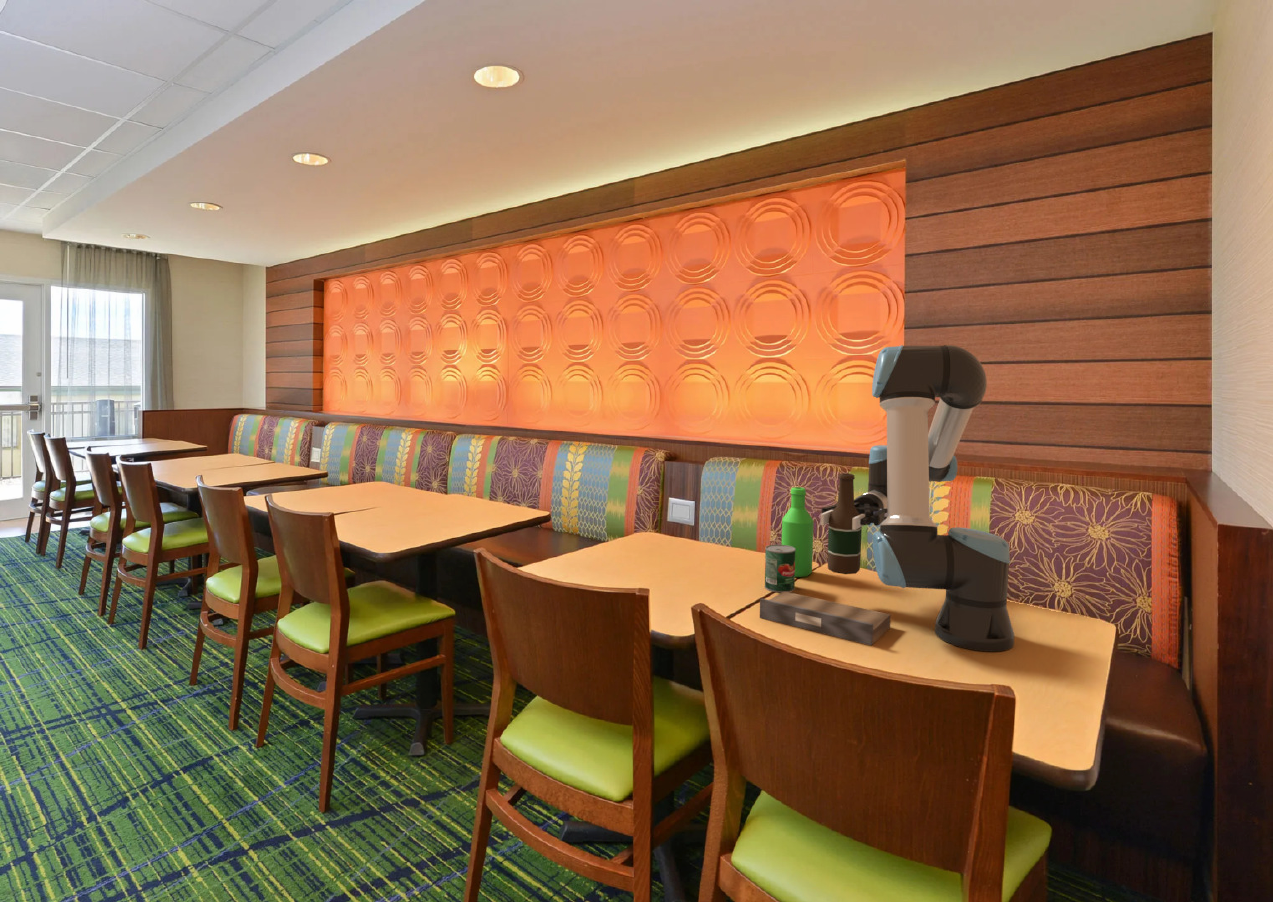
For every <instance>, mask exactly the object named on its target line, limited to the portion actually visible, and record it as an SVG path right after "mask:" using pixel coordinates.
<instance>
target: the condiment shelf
mask: <svg viewBox="0 0 1273 902" xmlns="http://www.w3.org/2000/svg"><path fill="white" fill-rule="evenodd" d="M891 616H892V615H891V614H890V613H885V612H881V611H876V610H874V609H873V610H871V609H869V608H868V609H867V608H863V607H858V606H854V605H849V604H844V603H839V602H835V601H830V600H826V599H823V598H818V597H812V596H808V595H802V594H798V593H795V592H785V591H784V592H782V593H778V594H777V595H775V596H773V597H772V598H770V599H767V598H762V597H761V598H760V599H759V618H760V619H763V620H767V621H770V622H771V621H772V622H775V623H779V624H783V625H787V626H792V627H794V628H795V627H796V628H798V629H803V630H808V631H811V632H814V633H815V632H816V633H819V634H823V635H827V636H831V637H835V638H839V639H843V640H847V641H851V642H856V643H860V644H863V645H868V646H872V645H873V644H875V643H876V642H877V641H878V640H879V639H880V637H882V636H883V635H884V634H885V633H886V632H887V631H888V630H889V629H891V619H892V618H891Z"/></svg>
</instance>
